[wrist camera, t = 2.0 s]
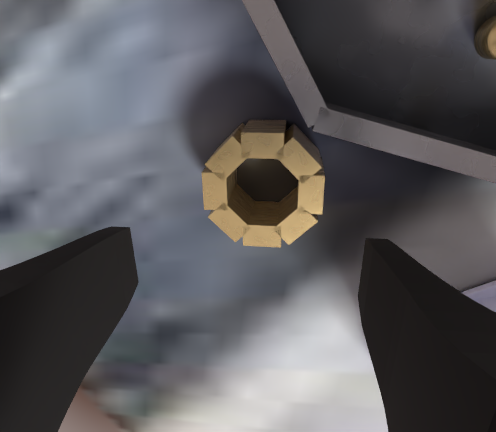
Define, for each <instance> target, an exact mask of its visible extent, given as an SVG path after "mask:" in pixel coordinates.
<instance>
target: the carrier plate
mask: <svg viewBox="0 0 496 432" xmlns="http://www.w3.org/2000/svg"><path fill="white" fill-rule="evenodd" d="M242 1H243V3H244V5H245V7H246V9H247V11H248V13H249V15H250V17H251V19H252V21H253V22H254V24H255V26H256V28H257V30H258V32H259V34H260V36H261V38H262V40H263V42H264V44H265V45H266V47H267V49H268V51H269V53H270V55H271V57H272V59H273V61H274V63H275V65H276V67H277V68H278V70H279V72H280V74H281V76H282V78H283V80H284V82H285V84H286V86H287V88H288V90H289V92H290V93H291V95H292V97H293V99H294V101H295V103H296V105H297V107H298V109H299V111H300V113H301V115H302V116H303V118H304V120H305V122H306V124H307V126H308V128H309V127H311V126H312V131H314V132H318V133H321V134H325V135H328V136H332V137H335V138H339V139H342V140H346V141H349V142H353V143H356V144H360V145H363V146H367V147H370V148H374V149H377V150H381V151H384V152H388V153H391V154H395V155H398V156H402V157H406V158H409V159H413V160H416V161H420V162H423V163H427V164H430V165H434V166H437V167H441V168H444V169H448V170H451V171H455V172H458V173H462V174H465V175H469V176H472V177H476V178H479V179H483V180H486V181H490V182H493V183H496V0H242Z"/></svg>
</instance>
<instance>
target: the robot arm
mask: <svg viewBox="0 0 496 432" xmlns="http://www.w3.org/2000/svg"><path fill="white" fill-rule="evenodd" d="M137 285H138V276H137V269H136V263H135V257H134V251H133V244H132V238H131V232H130V227H108V228H105V229H102V230H99V231H96V232H94V233H91V234H89V235H87V236H84V237H82V238H80V239H77V240H75V241H73V242H70V243H68V244H66V245H63V246H61V247H59V248H56V249H54V250H52V251H49V252H47V253H44V254H42V255H39V256H37V257H34V258H32V259H29V260H27V261H24V262H22V263H19V264H17V265H14V266H11V267H8V268H6V269H3V270H0V432H58V430H59V428H60V425H61V423H62V421H63V419H64V417H65V415H66V412H67V410H68V408H69V406H70V404H71V402H72V400H73V398H74V396H75V394H76V392H77V390H78V388H79V386H80V384H81V382H82V380H83V379H84V377H85V375H86V373H87V372H88V370H89V368H90V366H91V365H92V363H93V362H94V360H95V359H96V357H97V356H98V354H99V352H100V351H101V349H102V348H103V346H104V345H105V343H106V341H107V340H108V338H109V337H110V335H111V334H112V332H113V330H114V329H115V327H116V326H117V324H118V322H119V321H120V319H121V318H122V316H123V314H124V313H125V311H126V309H127V308H128V305H129V303H130V301H131V299H132V297H133V294H134V292H135V290H136V287H137ZM358 300H359V308H360V315H361V322H362V327H363V331H364V335H365V338H366V342H367V346H368V349H369V353H370V356H371V360H372V363H373V367H374V371H375V374H376V378H377V381H378V385H379V388H380V392H381V396H382V400H383V404H384V408H385V413H386V419H387V425H388V431H389V432H496V280H495V281H492V282H489V283H486V284H484V285H481V286H478V287H475V288H472V289H469V290H466V291H463V292H460V291H458V290H457V289H455V288H454V287H452V286H450V285H449V284H447V283H446V282H444V281H443V280H442V279H440V278H439V277H437V276H436V275H434V274H433V273H432V272H430V271H429V270H428V269H426V268H425V267H424V266H422V265H421V264H420V263H418V262H417V261H416V260H415V259H413V258H412V257H411V256H409V255H408V254H407V253H406V252H404V251H403V250H402V249H400V248H399V247H398V246H397V245H395V244H394V243H392V242H391V241H390V240H388V239H372V238H366V240H365V247H364V255H363V262H362V270H361V277H360V285H359V292H358Z"/></svg>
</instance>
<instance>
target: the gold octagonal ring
mask: <svg viewBox="0 0 496 432" xmlns="http://www.w3.org/2000/svg"><path fill="white" fill-rule="evenodd" d="M247 158H259V159H278V160H279V161H280V162H281V163H282V164H283V165H284V166H285V167H286V168H287V169H288V170H289V171H290V172H291V173H292V174H293V175H294V176H295V177H296V178H297V179H298V186H297V187H296V188H295V189H294V190H292V191H291V192H290V193H289V194H288V195H287V196H285V197H284V198H283V199H282V200H281V201H280V202H274V201H254V200H253V199H252V198H251V197H250V196H249V195H248V194H247V193H246V192H245V191H244V190H243V189H242V188H241V187H240V186H239V185H238V184H237V167H238V166H239V165H240V164H242V163H243V162H244V161H245V160H246V159H247ZM205 165H206V168H205V169H204V170H203V172H202V184H203V199H204V210H211V212H210V214H209V216H208V218H210V219H211V220H212V221H213V222H214V223H215V224H216V225H217V226H218V227H219V228H220V229H222V230H223V231H224V232H225V233H226V234H227V235H228V236H229V237H230V238H231V239H232V240H234V241H235V242H236V241H237V240H239V239H240V238H241V237H242V236H243V245H244V246H264V247H281V241H282V239H283V240H284V241H285V242H286V243H287V244H288V245H289V244H291V243H292V242H293V241H294V240H296V239H297V238H298V237H299V236H301V235H302V234H303V233H304V232H306V231H307V230H308V229H309V228H311V227H312V226H313V225H314V224H316V223H317V222H318V216H317V214H322V209H323V196H324V183H325V173H324V168H323V163H322V157H320V154H319V149H318V148H317V147H316V146H315V145H314V144H313V143H312V142H311V141H310V140H309V139H308V138H307V137H306V135H305V134H304V133H303V132H302V131H301V130H300V129H299V128H298V127H297V126H296V125H295V124H293V125H292V126H291V127H290V128H289V129H287V130H286V120H249V121H248V123H247V124H246V126H245V125H244V124H243V123H241V124H240V125H239V126H238V127H237V129H236V130H235V131H234V132H233V133H232V134H231V135H230V136H229V137H228V138H227V139H226V140H225V141H224V142H223V143H222V144H221V145H220V146H219V147H218V148H217V149H216V151H215V152H214V153H213V155H212V156H211V157H210V158H209V160H208V161H207V162H206V163H205Z"/></svg>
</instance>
